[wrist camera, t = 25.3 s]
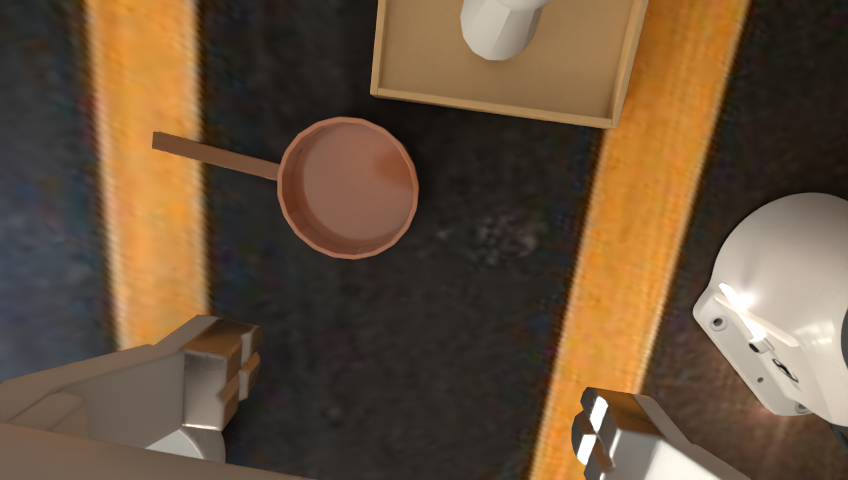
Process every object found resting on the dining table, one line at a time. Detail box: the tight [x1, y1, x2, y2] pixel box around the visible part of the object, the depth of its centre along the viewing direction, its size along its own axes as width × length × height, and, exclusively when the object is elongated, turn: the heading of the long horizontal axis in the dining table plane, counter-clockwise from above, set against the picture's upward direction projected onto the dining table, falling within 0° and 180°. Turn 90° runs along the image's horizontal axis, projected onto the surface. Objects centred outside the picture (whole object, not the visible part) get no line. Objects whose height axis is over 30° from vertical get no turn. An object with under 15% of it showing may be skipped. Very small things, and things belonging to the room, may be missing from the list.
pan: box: [278, 117, 420, 259], centre depth 34 cm, size 12×12×3 cm
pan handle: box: [152, 132, 281, 181], centre depth 33 cm, size 11×1×1 cm, turn 76°
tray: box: [370, 0, 649, 128], centre depth 31 cm, size 20×14×2 cm
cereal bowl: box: [145, 425, 226, 463], centre depth 39 cm, size 17×17×7 cm
